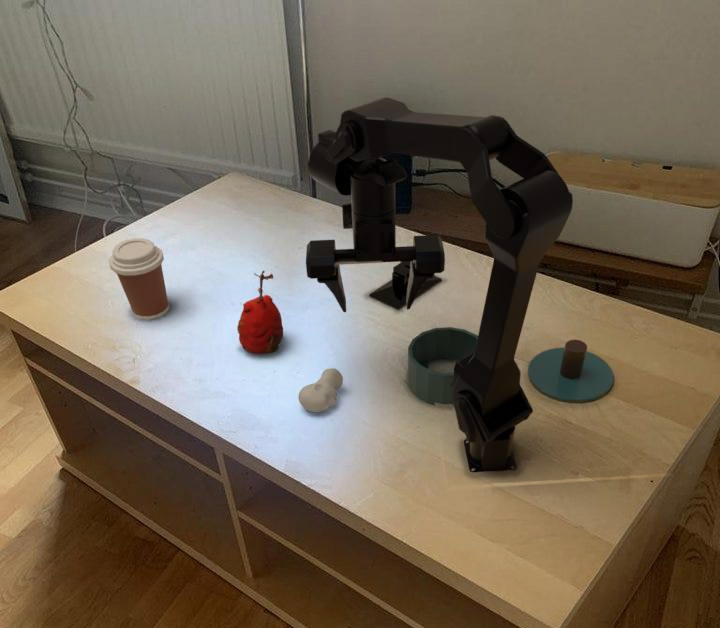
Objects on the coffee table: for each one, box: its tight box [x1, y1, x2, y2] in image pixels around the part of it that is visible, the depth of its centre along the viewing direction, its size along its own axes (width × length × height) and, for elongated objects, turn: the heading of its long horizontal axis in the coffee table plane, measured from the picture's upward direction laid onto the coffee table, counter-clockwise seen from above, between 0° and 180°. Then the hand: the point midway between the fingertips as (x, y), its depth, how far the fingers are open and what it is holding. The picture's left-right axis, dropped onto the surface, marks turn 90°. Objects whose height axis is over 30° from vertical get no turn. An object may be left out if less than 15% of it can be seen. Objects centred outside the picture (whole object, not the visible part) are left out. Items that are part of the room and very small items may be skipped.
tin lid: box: [527, 339, 614, 404], centre depth 109 cm, size 13×13×6 cm
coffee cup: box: [108, 237, 170, 320], centre depth 125 cm, size 9×9×12 cm
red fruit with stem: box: [236, 270, 284, 355], centre depth 115 cm, size 8×7×15 cm
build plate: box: [368, 261, 443, 311], centre depth 129 cm, size 12×7×5 cm, turn 137°
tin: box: [407, 326, 478, 406], centre depth 110 cm, size 12×12×6 cm
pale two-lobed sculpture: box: [297, 367, 344, 413], centre depth 109 cm, size 4×8×5 cm
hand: (376, 309), depth 105 cm, fingers open, 9 cm apart
